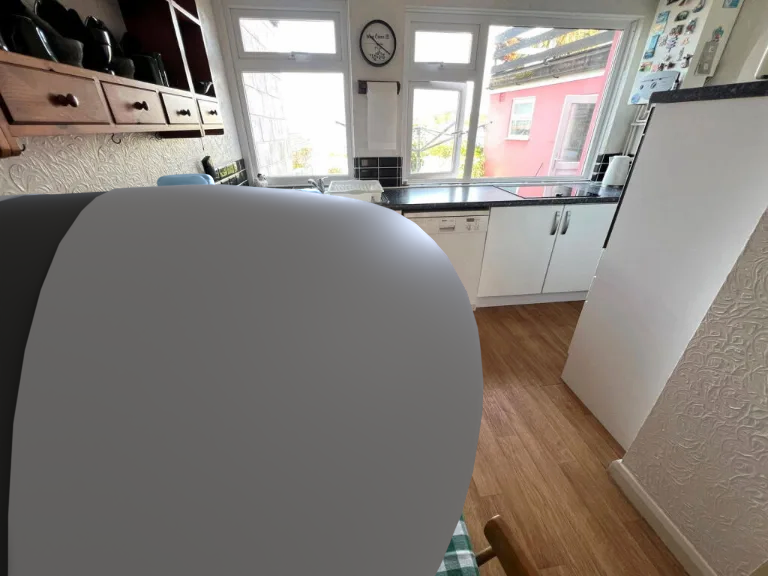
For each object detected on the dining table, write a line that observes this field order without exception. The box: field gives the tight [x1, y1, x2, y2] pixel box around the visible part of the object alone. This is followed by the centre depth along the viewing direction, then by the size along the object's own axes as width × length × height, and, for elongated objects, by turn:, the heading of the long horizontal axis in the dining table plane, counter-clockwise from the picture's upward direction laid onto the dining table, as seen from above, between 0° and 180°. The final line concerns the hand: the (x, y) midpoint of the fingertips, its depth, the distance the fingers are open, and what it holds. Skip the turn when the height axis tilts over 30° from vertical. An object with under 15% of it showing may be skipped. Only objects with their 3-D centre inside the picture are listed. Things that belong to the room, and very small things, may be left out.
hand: (239, 378), depth 62 cm, fingers closed on block, 4 cm apart
